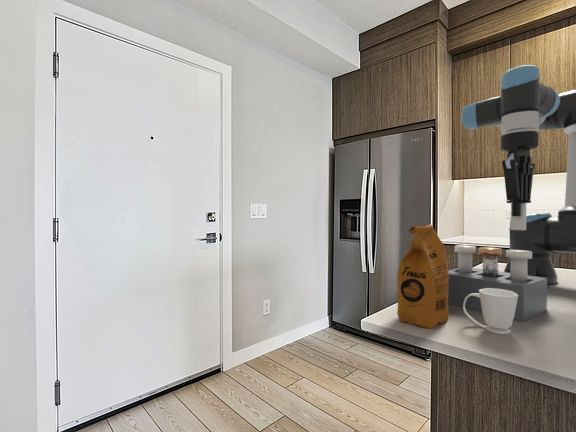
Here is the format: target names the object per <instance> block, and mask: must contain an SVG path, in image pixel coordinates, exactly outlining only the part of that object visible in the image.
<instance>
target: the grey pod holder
mask: <svg viewBox="0 0 576 432" xmlns="http://www.w3.org/2000/svg"><path fill="white" fill-rule="evenodd" d="M448 276H449V284H448V305H449V304H450V305H453V306H459V307H462V308H463V303H464V300H465V298H466V297H467V296H468V295H469V294H472V293H477V294H479V290H480V289H485V288H493V289H503V290H508V291H513V292H514V293H516V294H518V299H517V304H516V309H515V315H514V319H513V320H515V321H520V322H525V321H528V320H529V319H531V318H533V317H536V316H538V315H539V314H541V313H543V312H546V311H547V309H548V305H547V304H548V284H547V278H542V277H535V276H528V275H527V283H525V282H519V281H512V280H510V273H506V272H504V271H499V270H498V278H493V277H487V276H483V268H478V267H477V268H476V267H472V273H471V274H467V273H461V272H458V268H453V269H448ZM466 308H467V309H470V310H474V311H479V312H482V307H481V301H480V298H479V297H476V296H469V297H468V298H467V300H466V303H465V309H466Z"/></svg>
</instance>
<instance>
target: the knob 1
mask: <svg viewBox="0 0 576 432" xmlns="http://www.w3.org/2000/svg"><path fill="white" fill-rule="evenodd" d="M454 252H455V253H457V254H458V255H457V257H458V260H457V261H458V263H457V265H458V268H457V269H458V272H461V273H467V274H471V273H472V268H473V254H475V253H477V247H476V245H475V246H474V245H463V244H461V245H454Z"/></svg>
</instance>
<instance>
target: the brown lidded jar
mask: <svg viewBox="0 0 576 432" xmlns="http://www.w3.org/2000/svg"><path fill="white" fill-rule="evenodd" d="M478 254H479V255H481V256H482V269H483V276H487V277H493V278H498V271H499V257H500V256H503V248H499V247H479V248H478Z"/></svg>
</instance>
